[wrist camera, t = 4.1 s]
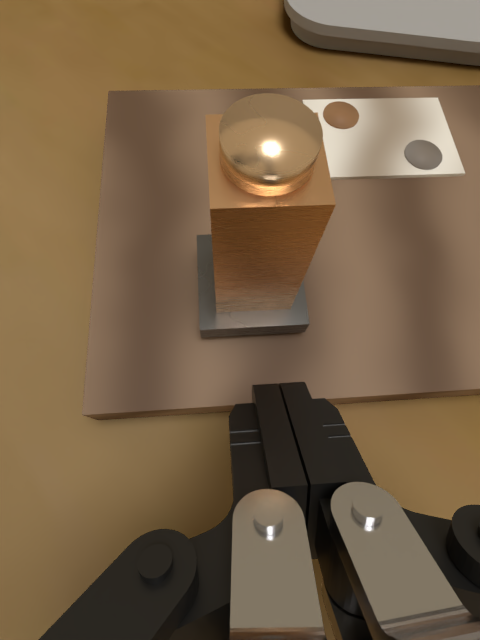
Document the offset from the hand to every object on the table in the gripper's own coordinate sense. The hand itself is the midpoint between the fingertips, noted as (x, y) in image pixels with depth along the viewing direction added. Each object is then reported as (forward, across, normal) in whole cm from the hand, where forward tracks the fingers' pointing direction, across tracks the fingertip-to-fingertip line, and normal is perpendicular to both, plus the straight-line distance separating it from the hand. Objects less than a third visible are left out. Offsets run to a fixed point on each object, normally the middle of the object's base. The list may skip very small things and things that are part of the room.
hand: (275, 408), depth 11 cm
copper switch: (+7, 0, -1) cm, 7 cm away
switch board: (+11, -8, -2) cm, 14 cm away
